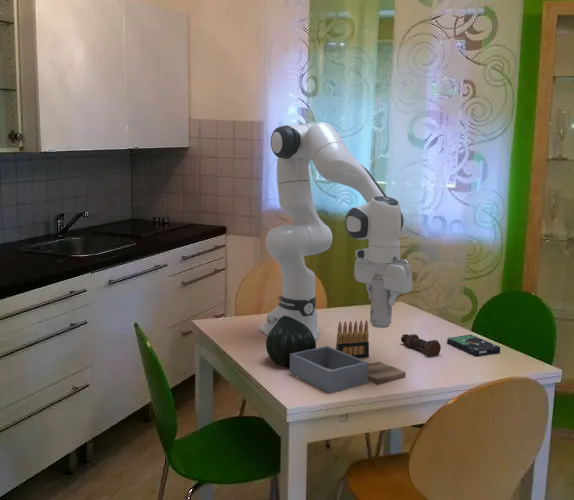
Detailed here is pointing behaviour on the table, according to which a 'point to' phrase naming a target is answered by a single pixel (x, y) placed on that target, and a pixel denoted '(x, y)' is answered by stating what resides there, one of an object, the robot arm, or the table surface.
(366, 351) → the ammunition clip
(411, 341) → the bolt
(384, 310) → the energy drink can
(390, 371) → the walnut pad
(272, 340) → the squash
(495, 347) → the disk drive
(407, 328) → the table surface
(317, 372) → the grey rectangular open frame
